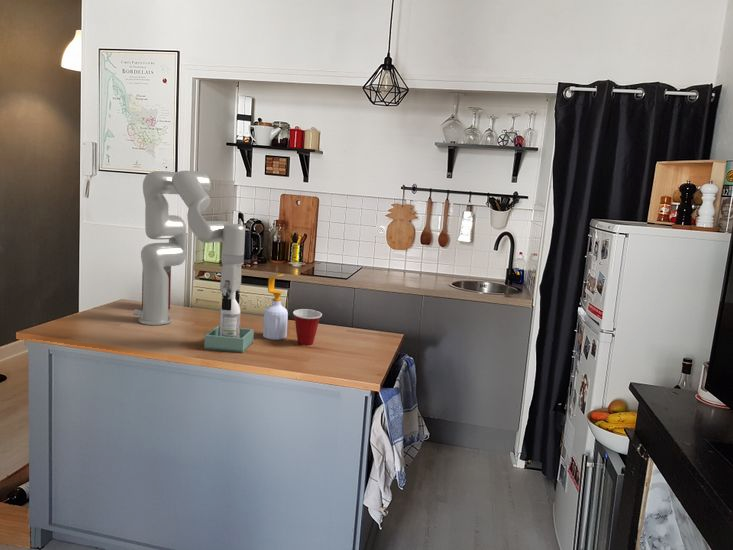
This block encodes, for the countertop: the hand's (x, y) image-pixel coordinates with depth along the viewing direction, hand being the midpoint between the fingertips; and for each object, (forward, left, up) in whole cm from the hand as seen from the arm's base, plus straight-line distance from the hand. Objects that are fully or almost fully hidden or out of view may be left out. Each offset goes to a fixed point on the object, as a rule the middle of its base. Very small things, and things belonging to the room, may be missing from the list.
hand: (230, 307), depth 206 cm
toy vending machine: (-45, +43, -14) cm, 64 cm away
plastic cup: (+26, +12, -14) cm, 32 cm away
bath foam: (0, 0, -14) cm, 14 cm away
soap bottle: (+13, +17, -14) cm, 26 cm away
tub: (0, 0, -14) cm, 14 cm away
